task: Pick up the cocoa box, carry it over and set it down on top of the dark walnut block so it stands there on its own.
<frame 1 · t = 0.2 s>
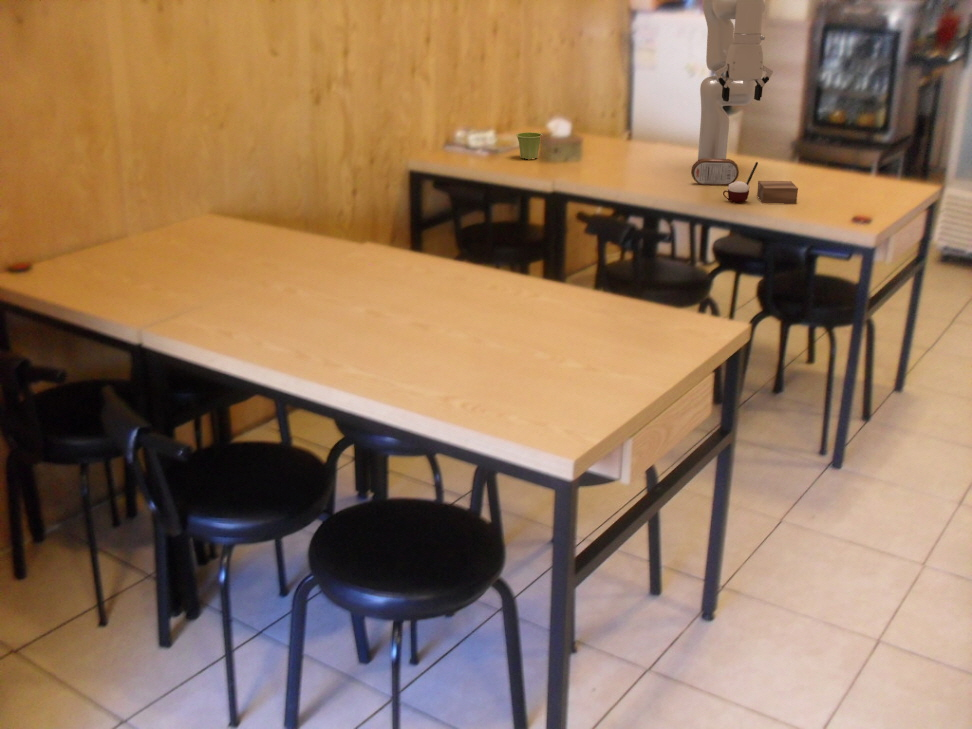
hand: (741, 100, 304), 30 cm above the table, tool pointing down, fingers open, 9 cm apart
cocoa: (738, 202, 316), on the table
tin: (714, 185, 337), on the table
walnut block: (776, 200, 318), on the table
plant pot: (529, 159, 377), on the table
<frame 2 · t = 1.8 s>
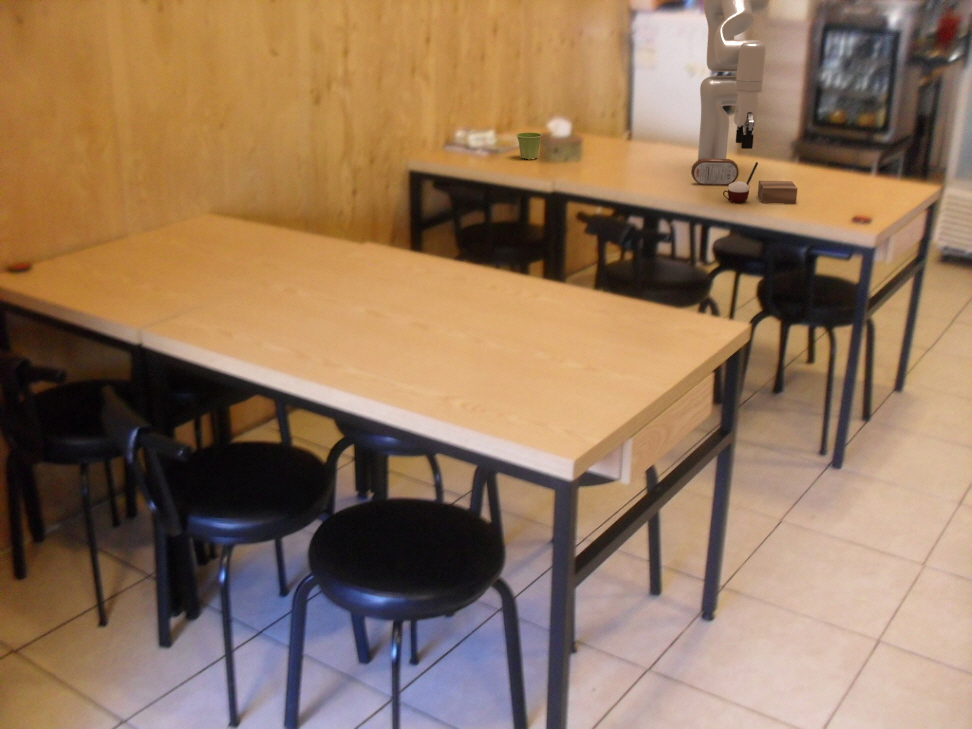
hand: (743, 145, 309), 17 cm above the table, tool pointing down, fingers open, 9 cm apart
nothing on the table moved.
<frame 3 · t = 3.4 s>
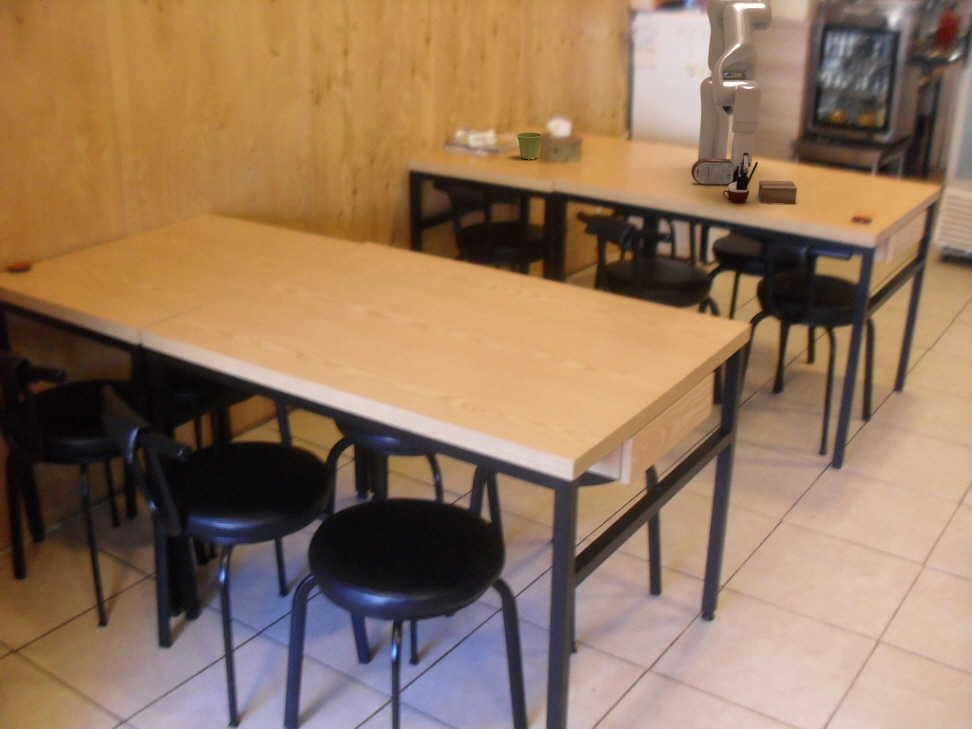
hand: (739, 186, 314), 5 cm above the table, tool pointing down, fingers closed on cocoa, 5 cm apart
cocoa: (738, 202, 316), on the table, touching gripper
everything else where it was.
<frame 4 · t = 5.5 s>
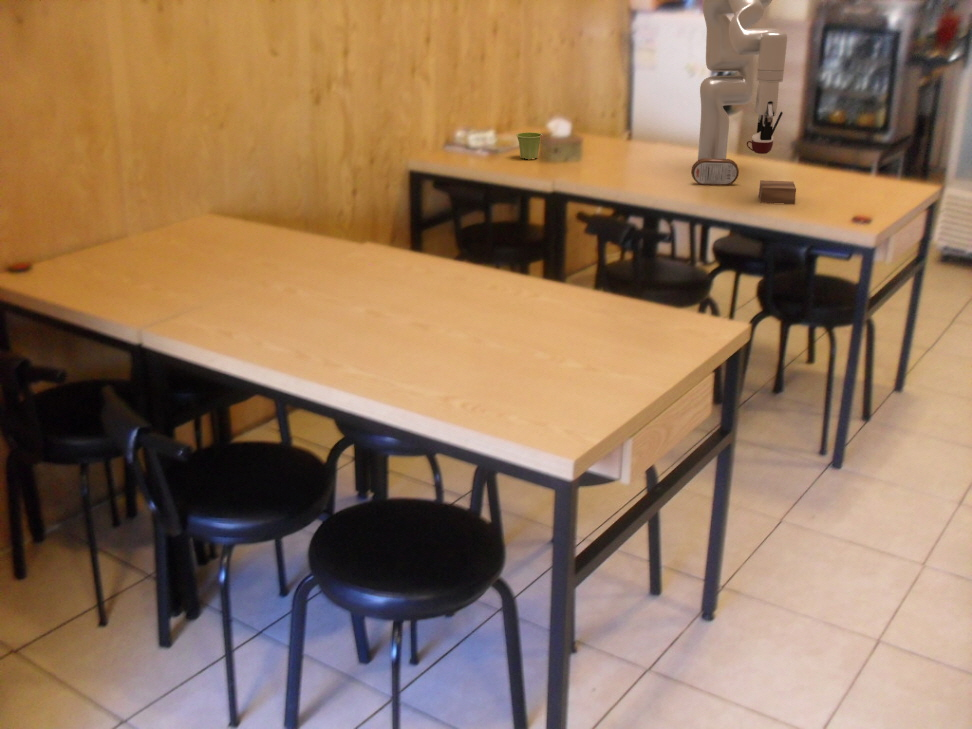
hand: (763, 137, 309), 19 cm above the table, tool pointing down, fingers closed on cocoa, 5 cm apart
cocoa: (762, 153, 311), point 14 cm above the table, touching gripper
everything else where it was.
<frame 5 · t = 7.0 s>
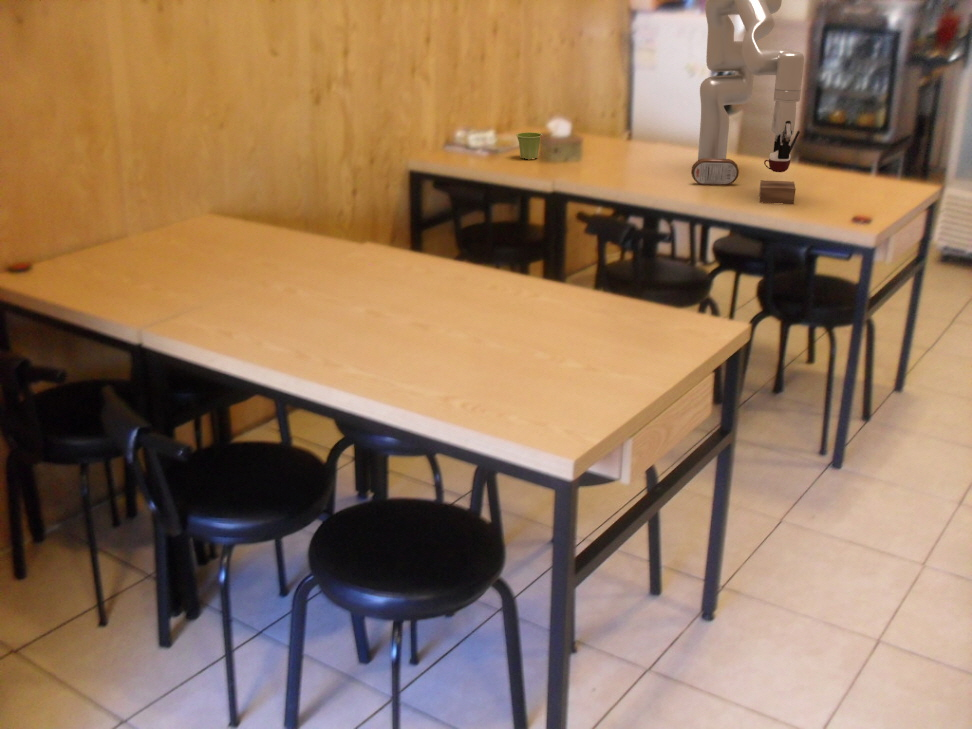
hand: (780, 155, 312), 13 cm above the table, tool pointing down, fingers closed on cocoa, 5 cm apart
cocoa: (779, 171, 314), point 9 cm above the table, touching gripper
everything else where it was.
when the fingers open (11 cm above the table, at t = 7.9 s): cocoa drops 1 cm, point 5 cm above the table.
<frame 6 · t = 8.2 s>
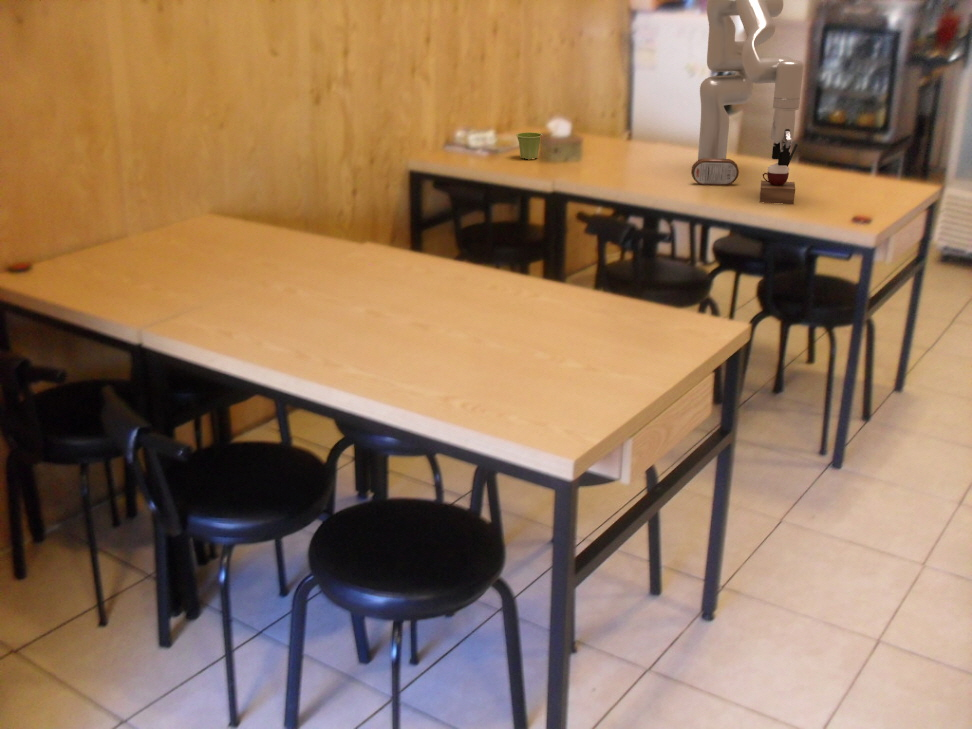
hand: (780, 161, 313), 12 cm above the table, tool pointing down, fingers open, 8 cm apart
cocoa: (778, 184, 316), point 5 cm above the table
everything else where it was.
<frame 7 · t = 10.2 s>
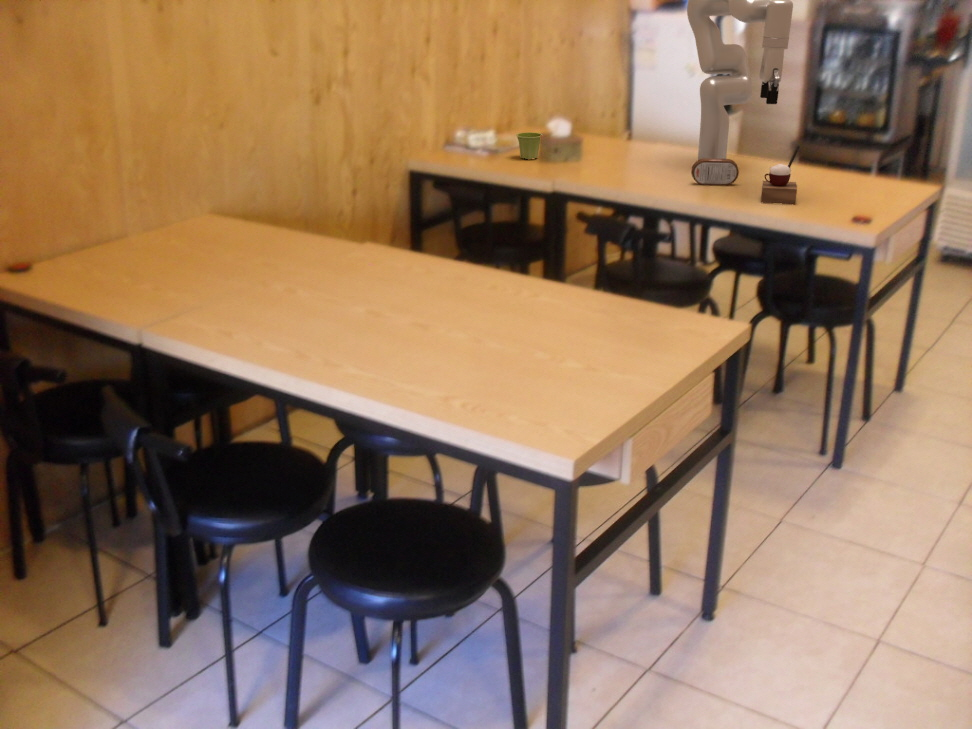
hand: (768, 100, 317), 28 cm above the table, tool pointing down, fingers open, 9 cm apart
cocoa: (779, 185, 316), point 4 cm above the table, touching walnut block
walnut block: (777, 201, 318), on the table, touching cocoa
everything else where it was.
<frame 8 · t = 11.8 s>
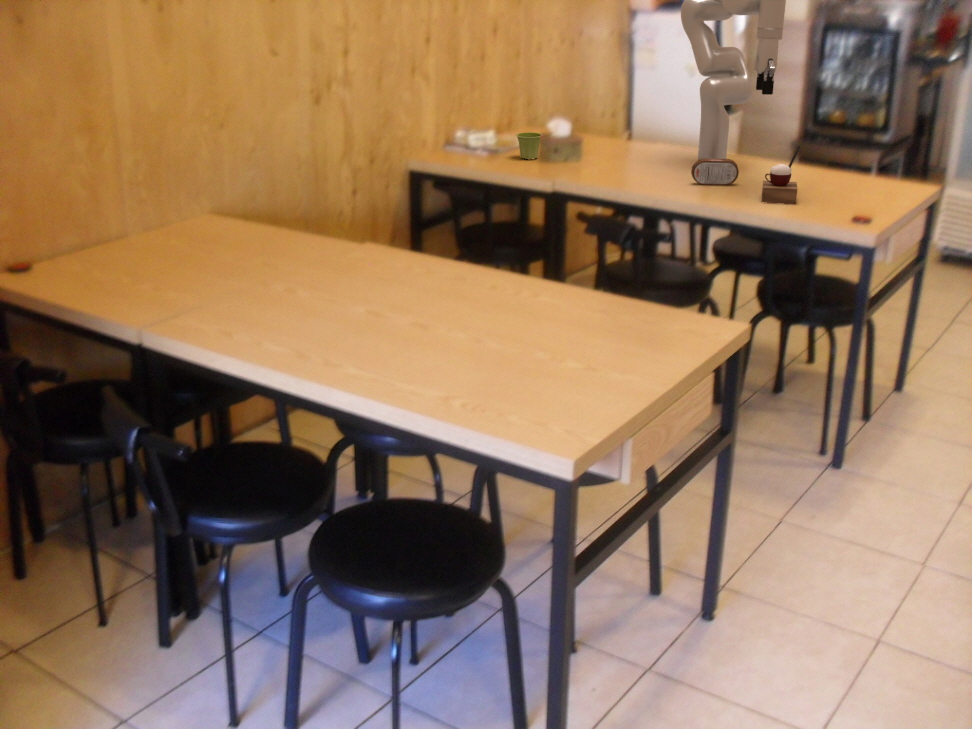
hand: (764, 92, 319), 30 cm above the table, tool pointing down, fingers open, 9 cm apart
nothing on the table moved.
at the end: cocoa inside the target area on the walnut block (0.2 cm from its centre), point 4.8 cm above the walnut block's base; cocoa tilted 1°; the gripper is holding nothing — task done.
